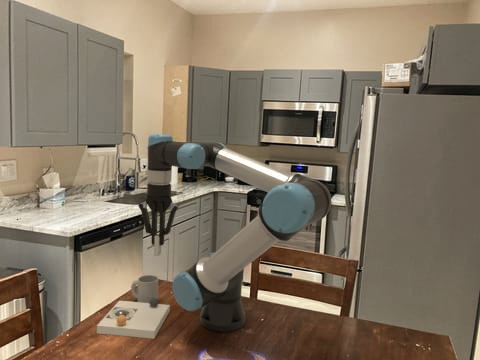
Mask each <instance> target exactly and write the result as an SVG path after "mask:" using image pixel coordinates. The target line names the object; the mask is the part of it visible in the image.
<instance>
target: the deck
mask: <svg viewBox="0 0 480 360" xmlns="http://www.w3.org/2000/svg"><path fill="white" fill-rule="evenodd" d="M170 306H171V305H170V304H162V303H158V305H157V306H155V307H152V306H151V305H150V303H141V302H138V301H130V300H129V301H126V300H118V302H116V304H115V305H114V306H113V307H112V308H111V309H110V311H108V313H107V314H106V315H105V316H104V317H103V318H102V319H101V320H100V322H99V323H97V325H96V334H99V335H101V334H102V335H111V336H121V337H131V338H140V339H141V338H144V339H153V340H154V339H155V338H156V337H157V335H158V332H159V331H160V329H161V328H162V326H163V323H164V322H165V320H166V319H167V317H168V315H169V313H170V311H171V310H170V308H171V307H170ZM119 310H123V311H125V312H126V318H127V321H126V323H125V324H124V325H119V324H118V323H117V317H118V316H116V315H115V314H116V313H117V311H119Z"/></svg>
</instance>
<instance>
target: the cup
mask: <svg viewBox="0 0 480 360" xmlns="http://www.w3.org/2000/svg"><path fill="white" fill-rule="evenodd" d="M130 288H131V290H130V291H131V295H132V296H133V297H134V298H136V299H137V302H141V303H149V302H150V299H152V298H157V299H158V300H159V277H158V276H156V275H152V274H151V275H150V274H146V275H140V276H139V277H138V279H136V280H134V281H132V283H131V287H130ZM136 288H137V291H136Z"/></svg>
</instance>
